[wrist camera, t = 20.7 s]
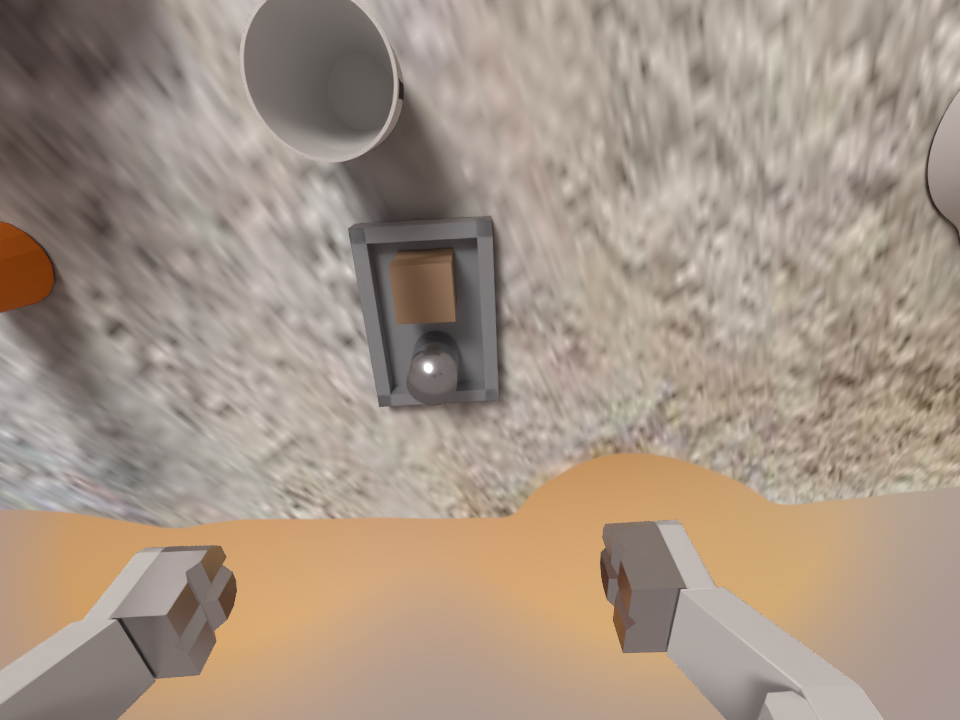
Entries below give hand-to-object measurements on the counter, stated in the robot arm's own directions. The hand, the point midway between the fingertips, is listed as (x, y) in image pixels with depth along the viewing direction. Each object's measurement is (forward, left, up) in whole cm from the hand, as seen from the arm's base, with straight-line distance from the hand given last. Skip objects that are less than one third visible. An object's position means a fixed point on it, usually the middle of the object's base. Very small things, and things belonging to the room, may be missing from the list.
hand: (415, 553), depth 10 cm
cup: (+6, -11, -31) cm, 34 cm away
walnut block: (+2, +2, -31) cm, 31 cm away
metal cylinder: (+2, +9, -31) cm, 32 cm away
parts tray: (+2, +6, -31) cm, 32 cm away
